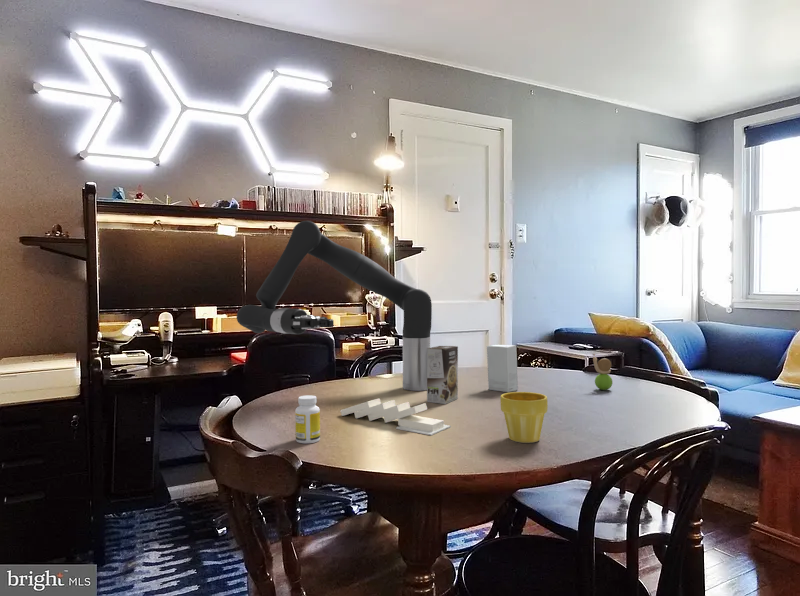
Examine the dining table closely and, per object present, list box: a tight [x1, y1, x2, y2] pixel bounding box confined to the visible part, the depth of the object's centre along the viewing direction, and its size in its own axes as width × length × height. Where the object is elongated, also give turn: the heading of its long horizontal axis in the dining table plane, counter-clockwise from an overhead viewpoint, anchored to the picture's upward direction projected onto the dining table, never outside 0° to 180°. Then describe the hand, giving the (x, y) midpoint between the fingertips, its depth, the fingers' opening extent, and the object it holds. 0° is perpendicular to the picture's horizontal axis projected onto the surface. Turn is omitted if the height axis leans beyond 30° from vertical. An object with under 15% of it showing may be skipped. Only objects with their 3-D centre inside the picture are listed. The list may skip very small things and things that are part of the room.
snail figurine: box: [592, 353, 613, 391], centre depth 177 cm, size 5×6×12 cm
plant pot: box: [499, 391, 549, 444], centre depth 121 cm, size 10×10×10 cm
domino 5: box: [397, 414, 445, 432], centre depth 131 cm, size 2×5×10 cm
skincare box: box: [486, 344, 519, 393], centre depth 177 cm, size 8×6×15 cm
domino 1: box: [340, 398, 382, 417], centre depth 143 cm, size 2×5×10 cm
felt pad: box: [395, 424, 452, 436], centre depth 131 cm, size 10×9×1 cm
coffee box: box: [426, 345, 459, 405], centre depth 162 cm, size 9×6×16 cm
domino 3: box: [367, 401, 411, 422], centre depth 137 cm, size 2×5×10 cm
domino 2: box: [354, 399, 397, 419], centre depth 140 cm, size 2×5×10 cm
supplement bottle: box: [294, 395, 321, 444], centre depth 121 cm, size 5×5×10 cm
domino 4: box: [383, 402, 428, 424], centre depth 134 cm, size 2×5×10 cm
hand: (331, 323), depth 151 cm, fingers closed
